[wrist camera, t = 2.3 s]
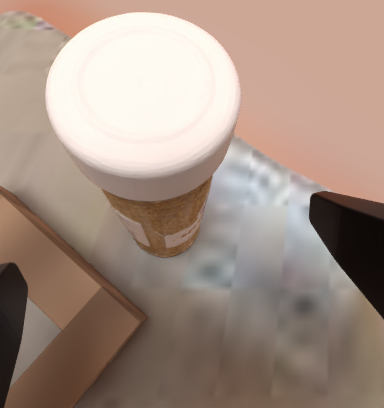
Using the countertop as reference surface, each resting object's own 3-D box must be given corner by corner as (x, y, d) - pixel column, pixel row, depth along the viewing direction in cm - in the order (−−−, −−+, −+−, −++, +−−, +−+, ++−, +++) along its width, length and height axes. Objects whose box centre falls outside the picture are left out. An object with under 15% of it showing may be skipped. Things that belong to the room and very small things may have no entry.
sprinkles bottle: (203, 254, 19) (261, 165, 6) (131, 261, 19) (32, 183, 6) (195, 187, 20) (229, -2, 7) (128, 192, 20) (41, 4, 7)
